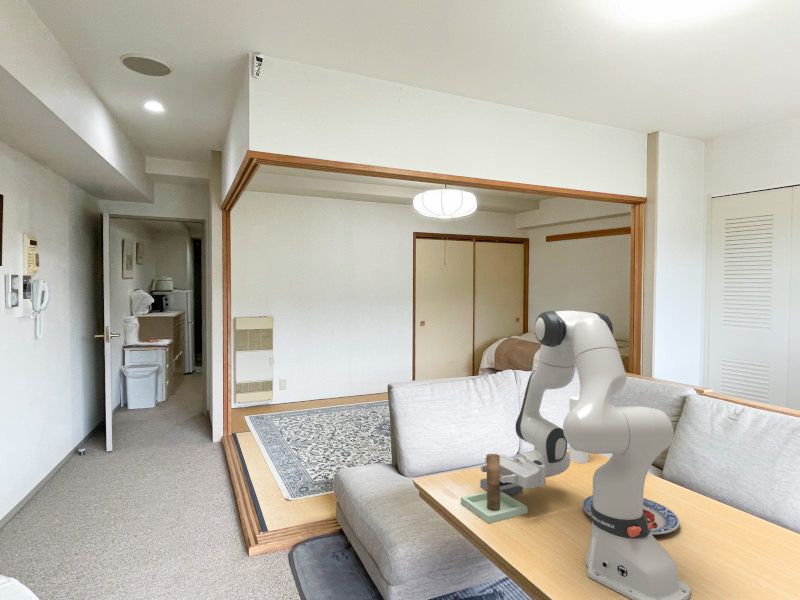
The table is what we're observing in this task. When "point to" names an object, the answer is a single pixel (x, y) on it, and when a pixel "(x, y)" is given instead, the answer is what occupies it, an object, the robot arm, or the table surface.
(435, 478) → the table surface
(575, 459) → the cylindrical container
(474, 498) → the tray
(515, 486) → the socket block
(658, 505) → the ceramic plate
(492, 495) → the dowel
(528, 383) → the robot arm
